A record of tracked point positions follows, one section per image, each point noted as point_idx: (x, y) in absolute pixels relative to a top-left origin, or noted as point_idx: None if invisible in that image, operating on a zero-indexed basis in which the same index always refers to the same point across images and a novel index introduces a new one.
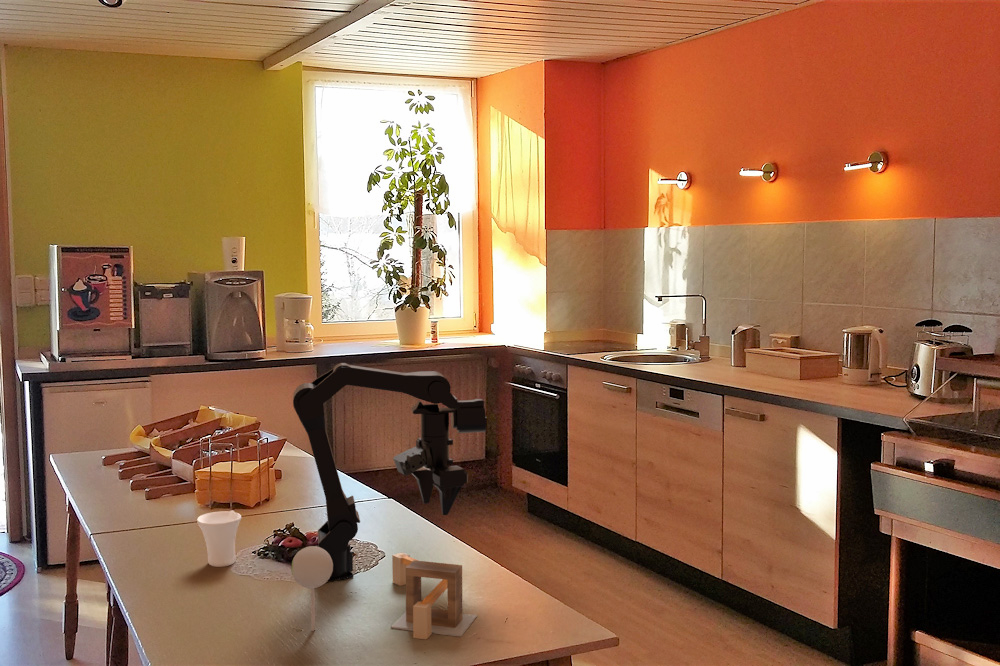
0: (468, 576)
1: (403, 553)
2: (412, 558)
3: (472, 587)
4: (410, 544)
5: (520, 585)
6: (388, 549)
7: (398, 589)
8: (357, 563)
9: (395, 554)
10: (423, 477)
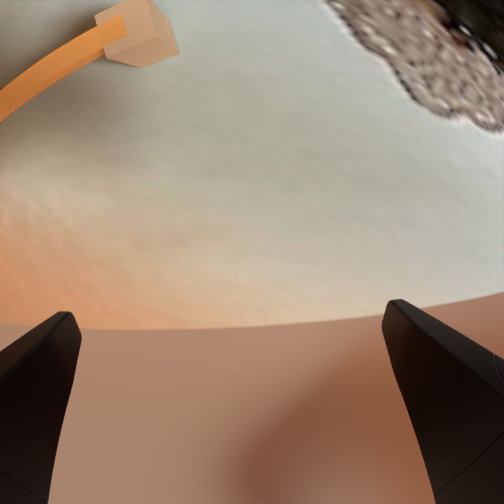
0: (127, 248)
1: (140, 38)
2: (68, 64)
3: (54, 226)
4: (448, 209)
5: None
6: (450, 138)
7: None
8: (391, 3)
9: (145, 5)
10: (499, 463)
